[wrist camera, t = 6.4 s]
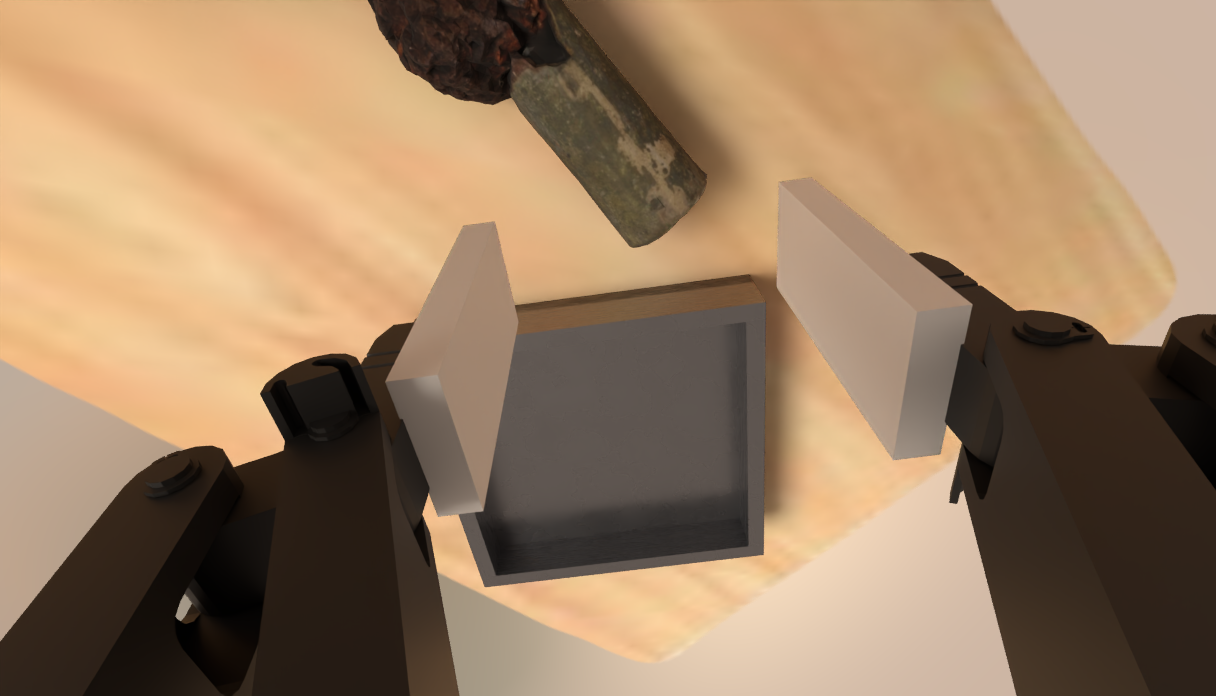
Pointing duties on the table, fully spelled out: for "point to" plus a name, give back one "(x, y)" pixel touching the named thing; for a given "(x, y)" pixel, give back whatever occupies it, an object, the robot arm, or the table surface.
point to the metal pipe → (553, 99)
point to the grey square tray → (628, 435)
